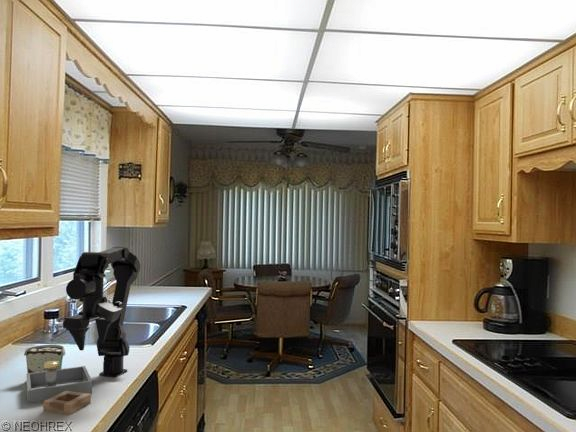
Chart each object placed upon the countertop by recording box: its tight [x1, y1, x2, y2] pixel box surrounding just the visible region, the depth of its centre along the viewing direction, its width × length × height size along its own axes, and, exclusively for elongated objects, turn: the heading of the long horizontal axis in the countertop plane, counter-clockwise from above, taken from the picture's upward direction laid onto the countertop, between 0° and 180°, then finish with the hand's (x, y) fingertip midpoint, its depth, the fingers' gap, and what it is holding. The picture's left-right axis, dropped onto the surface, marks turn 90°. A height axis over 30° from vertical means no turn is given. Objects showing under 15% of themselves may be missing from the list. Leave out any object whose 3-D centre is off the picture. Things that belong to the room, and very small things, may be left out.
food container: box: [23, 344, 66, 374], centre depth 151 cm, size 12×6×10 cm, turn 92°
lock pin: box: [44, 361, 59, 387], centre depth 134 cm, size 4×4×10 cm
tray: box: [25, 365, 93, 405], centre depth 137 cm, size 16×16×5 cm
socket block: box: [42, 391, 92, 416], centre depth 124 cm, size 8×8×4 cm
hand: (92, 346), depth 141 cm, fingers open, 9 cm apart
